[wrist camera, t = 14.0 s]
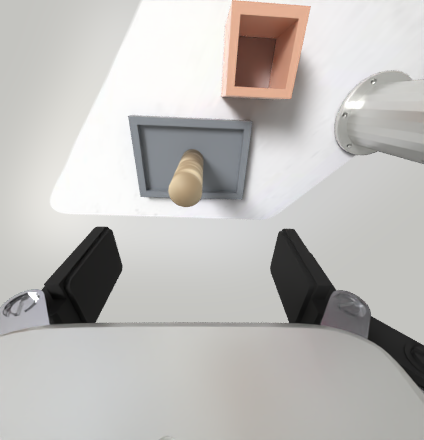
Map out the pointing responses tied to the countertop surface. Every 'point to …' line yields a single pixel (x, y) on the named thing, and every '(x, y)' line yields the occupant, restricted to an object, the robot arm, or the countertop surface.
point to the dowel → (187, 179)
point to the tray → (184, 140)
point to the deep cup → (265, 28)
